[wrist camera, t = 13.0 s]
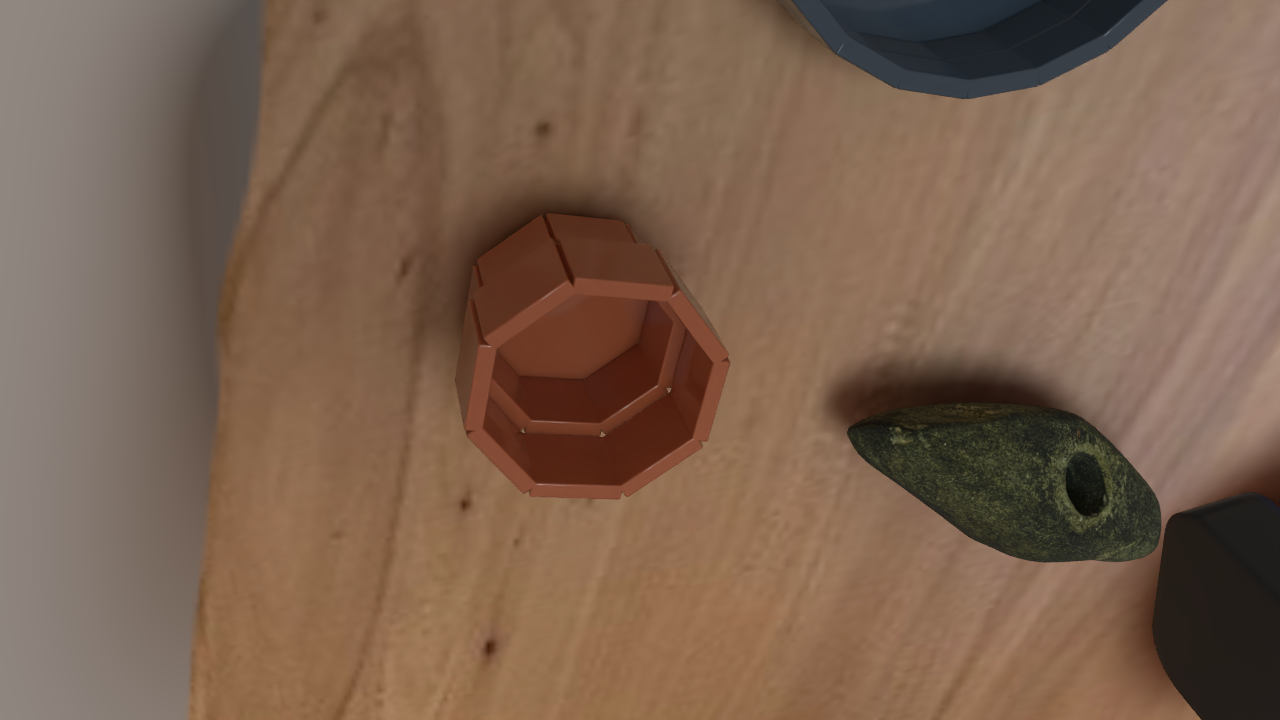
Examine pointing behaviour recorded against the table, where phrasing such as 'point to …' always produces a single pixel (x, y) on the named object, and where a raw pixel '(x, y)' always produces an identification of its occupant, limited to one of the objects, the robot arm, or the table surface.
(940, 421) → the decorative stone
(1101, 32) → the slate bowl
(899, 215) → the table surface
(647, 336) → the terracotta bowl
